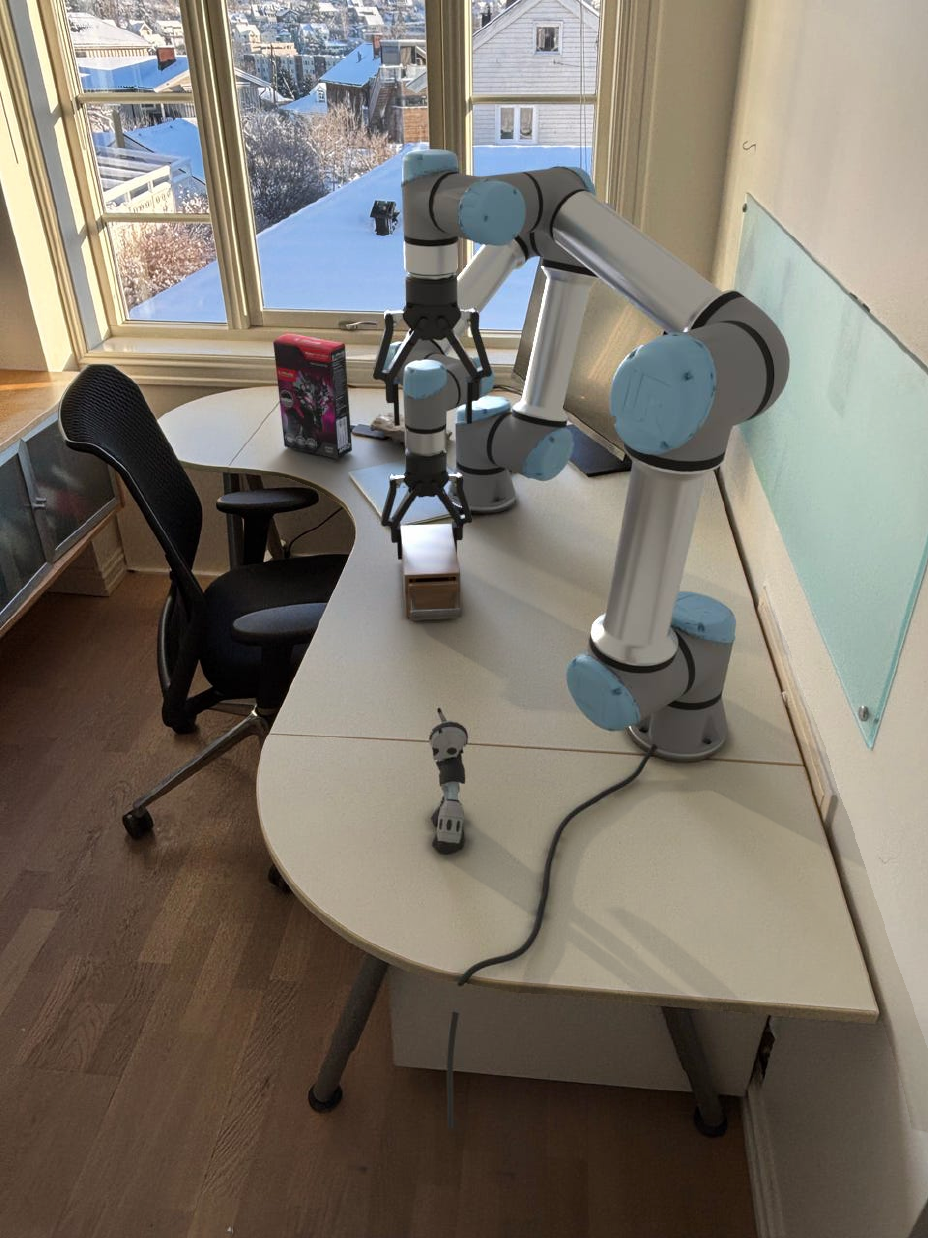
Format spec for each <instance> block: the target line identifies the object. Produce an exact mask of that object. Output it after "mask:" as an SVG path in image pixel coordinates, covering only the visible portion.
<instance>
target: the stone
mask: <svg viewBox="0 0 928 1238" xmlns="http://www.w3.org/2000/svg"><path fill="white" fill-rule="evenodd" d="M399 420H400V426H395V423H394V412H386V413H379V414H377V415H375V417H374V418H373V419H372V422H371V424H370V426H369V429H370V431H371V432H381V433H382V435H384V436H386V437H389V438H391V439H392V441H393V442H395V443H404V444H405V418H404V415H403V414H402V413H401V414H400V413H399ZM452 435H453V432H452V431H451V430H449V429H447V428H446V443H447V442H448V441H449V440H450V438H451V436H452Z"/></svg>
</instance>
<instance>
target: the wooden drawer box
mask: <svg viewBox="0 0 928 1238" xmlns="http://www.w3.org/2000/svg"><path fill="white" fill-rule="evenodd" d="M401 546H402V559H401V560H400V561H401V573H402V574H401V577H402V589H403V600H404V611H405V612H404V613H405V618H409V590H408V583H410V579H417V578H440V577H453V581H458V608H460V609H461V570H460V564H459V559H458V552H457V553H456V547H455V542H454V536H453V531H452V523H441V524H438V523H437V524H414V525H411V524H410V525H401Z"/></svg>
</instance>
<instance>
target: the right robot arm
mask: <svg viewBox="0 0 928 1238" xmlns="http://www.w3.org/2000/svg"><path fill="white" fill-rule="evenodd" d="M401 173H402V175H401V176H402V177H401V183H400V188H401V198H402V201H401V202H402V226H403V228H402V229H403V262H404V263H403V264H404V265H403V267H404V270H405V271H406V272H407V273H406V274H405V276H404V301H405V303H404V307H403V309H402V310H396V311H392V310H391V309H386V310H384V313H383V315H384V316H383V318H384V328H383V330H382V331H383V332H382V335H381V339H380V342H379V346H378V350H377V353H376V357H375V360H374V364H373V368H372V377H373V379H374V380H376V381H378V380H379V381H382V382H383V383H384V384H385V387H384V389H385V401H386V403H387V404H393V413H394V423H395V426H400V420H399V414H400V400H399V399H400V394H399V392H400V391H399V390H400V389H399V384H398V378H395V377H396V376H397V374H398V372H399V371H400V369H401V367H402V365H403V364H404V362H405V360H406V359H407V357H408V355H409V353H410V352H411V350H412V348H413V347H414V346H415V344H416V343H417V341H418V339H422V341H427V340H431V339H434V340H443V339H444V338H447V340H448V341H449V343H450V345H451V346H452V347H453V348H452V350H453V351H454V352H455V354H456V355H457V357H458V359H459V360H461V362H462V363H463V365H464V367H465V368H466V370H467V371H468V373H469V375H470V376H468V377H466V400H465V418H466V422H467V424H472V401H478V399H479V388H480V380H481V379H482V378H484V377H490V376H491V375H492V371H491V368H492V366H491V364H490V361H489V357H488V354H487V351H486V347H485V344H484V341H483V338H482V334H481V331H480V314H479V313H478V311H477V309H476V308H471V309H470V310H460V309H459V307H458V277H459V275H457V274H456V271H457V270H458V268H459V238H461V239H464V240H467V241H472V242H473V243H475V244H479V245H481V246H483V245H493V246H503V245H506V244H508V243H510V242H511V241H512V240H513V239H514V238H515V237H517V236H518V235H519V234H525V233H531V232H538V231H540V232H543V233H545V234H546V235H547V236H548V237H550V238H551V239H552V240H554V241H555V242H556V243H557V244H559V245H560V246H561V247H562V248H564V249H565V250H566V251H567V252H568V253H570V254H571V255H572V256H573V257H575V258H576V259H577V260H578V261H580V262H581V263H582V264H583V265H584V266H586V267H587V268H588V269H589V270H591V271H592V272H593V273H594V274H596V275H597V276H598V277H599V278H600V280H601V281H603V282H604V283H605V284H607V286H609V287H610V288H611V289H613V290H614V291H615V292H616V293H618V294H619V295H620V296H621V297H622V298H624V299H625V300H626V301H627V302H628V303H630V305H632V306H633V307H635V308H636V309H637V310H638V311H639V312H641V313H642V314H643V315H645V316H646V317H647V318H648V319H649V320H651V321H652V322H653V323H654V324H655V325H657V326H658V327H659V328H660V329H662V330H663V331H664V332H665V333H666V334H663V335H661V336H658V337H656V338H654V339H653V340H651V341H648V342H646V343H644V344H641V345H639V346H638V347H636V348H634V349H633V350H632V351H630V352H629V354H627V355H626V356H625V358H623V360H622V361H621V363H620V364H619V366H618V367H617V369H616V371H615V373H614V375H613V378H612V382H611V385H610V389H609V398H608V399H609V404H608V405H609V413H610V417H611V418H614V419H615V421H616V422H615V423H614V425H613V427H614V429H615V431H616V433H617V435H618V436H619V438H620V439H621V440H622V449H623V451H624V452H625V454H626V455H627V456H628V457H629V459H630V460H631V462H632V463H631V470H630V475H629V480H628V487H627V491H626V497H625V502H624V508H623V514H622V519H621V526H620V530H619V536H618V541H617V547H616V551H615V552H616V553H615V558H614V564H613V565H614V566H613V569H612V574H611V575H612V576H611V580H610V586H609V592H608V597H607V603H606V609H605V613H604V614H601V615H600V616H598V617H597V618H596V619H595V620H594V621H593V623H592V625H591V628H590V633H589V638H588V644H587V648H586V650H585V652H583V653H579V654H577V655H575V656H574V658H572V659H571V660H570V661H569V663H568V665H567V668H566V673H565V677H566V685H567V687H568V690H569V693H570V696H571V698H572V699H573V701H574V703H575V705H576V706H577V707H578V709H579V711H580V712H581V713H582V714H583V715H584V716H585V717H586V718H587V719H588V721H590V722H591V723H593V724H594V725H595V726H597V727H598V728H600V729H603V730H605V731H608V732H621V731H623V730H625V729H626V732H627V734H628V736H629V738H630V739H631V741H632V742H634V744H636V745H637V746H638V747H639V748H640V749H641V750H643V751H645V752H646V753H645V755H644V757H643V758H642V759H641V762H640V763H639V765H638V766H637V768H636V770H634V772H632V774H630V776H628V777H626V778H625V779H623V780H622V781H620V782H618V783H617V784H614V785H612V786H609V788H606V789H604V790H603V791H601V792H600V793H598V794H596V795H595V796H593V797H591V798H590V799H588V800H587V801H584V802H583V803H582V804H580V805H578V806H577V807H576V808H574V809H573V810H572V811H571V812H569V813H568V815H566V816H565V817H564V818H563V820H562V821H561V822H560V824H559V825H558V827H557V829H556V830H555V833H554V835H553V838H552V840H551V843H550V847H549V850H548V853H547V857H546V861H545V865H544V871H543V880H542V881H543V882H542V890H541V897H540V900H539V904H538V908H537V912H536V917H535V920H534V925H533V928H532V930H531V933H530V935H529V936H528V938H527V940H526V941H525V942H524V943H523V944H522V945H521V946H520V947H519V948H517V949H516V950H514V951H512V952H510V953H507V954H503V955H500V956H495V957H492V958H491V957H490V958H488V959H484V960H481V961H479V962H477V963H475V964H473V965H472V966H471V967H469V968H468V969H467V970H466V971H465V972H464V973H462V975H461V976H460V978H459V979H458V981H457V983H456V985H457V987H463V986H464V985H465V984H466V982H467V981H468V980H469V979H470V978H471V977H472V976H473V975H474V974H476V973H477V972H479V971H481V970H482V969H485V968H489V967H491V966H496V965H499V964H503V963H507V962H510V961H513V960H515V959H517V958H519V957H521V956H522V955H523V954H525V953H526V952H527V951H528V950H529V949H530V948H531V946H532V945H533V943H534V942H535V941H536V939H537V937H538V935H539V932H540V930H541V926H542V923H543V918H544V913H545V909H546V905H547V900H548V896H549V889H550V880H551V869H552V864H553V860H554V856H555V852H556V849H557V847H558V846H557V845H558V843H559V840H560V837H561V835H562V833H563V832H564V829H565V828H566V826H567V825H568V824H569V823H570V822H571V820H572V819H574V817H576V816H577V815H578V814H580V813H581V812H582V811H584V810H586V809H588V808H589V807H591V806H592V805H594V804H596V803H597V802H599V801H600V800H602V799H603V798H605V797H606V796H607V797H608V795H611V794H612V793H615V792H616V791H619V790H620V789H622V788H624V787H626V786H627V785H629V784H631V783H632V782H633V781H634V780H636V778H638V776H640V774H641V773H642V771H643V770H644V768H645V766H646V764H647V763H648V762H649V760H650V758H651V757H652V756H654V757H656V758H659V759H662V760H666V761H670V762H675V763H694V762H700V761H703V760H706V759H709V758H711V757H714V755H716V754H718V752H720V751H721V750H722V748H723V747H724V744H725V743H726V740H727V739H726V738H727V734H728V721H727V716H726V712H725V708H724V707H725V706H724V701H723V692H724V686H725V682H726V678H727V674H728V669H729V664H730V659H731V654H732V651H733V647H734V642H735V640H736V627H737V620H736V617H735V615H734V613H733V611H732V609H730V608H729V607H728V606H727V605H726V604H725V603H723V602H722V601H720V600H719V599H717V598H714V597H712V596H709V595H707V594H703V593H699V592H693V591H689V590H680V588H681V583H682V579H683V576H684V571H685V566H686V563H687V558H688V553H689V550H690V546H691V541H692V537H693V533H694V528H695V524H696V520H697V517H698V511H699V508H700V503H701V498H702V495H703V492H704V491H703V490H704V487H705V482H706V478H707V474H708V473H710V472H712V471H714V470H717V469H718V468H719V467H720V466H721V465H722V464H723V462H724V460H725V457H726V452H727V448H728V445H729V441H730V436H731V433H732V429H733V427H735V426H737V425H740V424H742V423H745V422H748V421H750V420H753V419H755V418H757V417H758V416H761V415H762V414H764V413H765V412H766V411H768V410H769V409H770V408H771V407H772V406H773V405H774V404H775V403H776V402H777V401H778V400H779V398H780V396H781V395H782V394H783V391H784V389H785V387H786V385H787V381H788V379H789V375H790V374H789V373H790V364H791V359H790V352H789V347H788V345H787V342H786V339H785V336H784V335H783V333H782V331H781V330H780V329H779V327H778V325H777V324H776V323H775V322H774V321H773V319H772V318H771V317H770V316H769V315H768V314H767V313H766V312H765V311H764V310H762V309H761V308H760V307H759V306H758V305H756V304H755V303H754V302H753V301H751V300H750V299H749V298H747V297H746V296H745V295H743V294H742V293H741V292H739V291H738V290H736V289H728V290H724V291H722V290H721V289H720V288H718V287H717V286H716V285H714V284H713V283H712V282H710V281H709V280H708V279H706V278H705V277H703V276H702V275H701V274H700V273H698V272H697V271H695V270H694V269H693V268H692V267H691V266H689V265H688V264H686V263H685V262H684V261H683V260H681V259H679V258H678V257H677V256H675V255H674V254H673V253H672V252H671V251H669V250H668V249H666V248H665V247H663V246H662V245H661V244H659V242H657V241H656V240H654V239H653V238H652V237H650V236H649V235H648V234H646V233H644V232H643V231H642V230H641V229H640V228H639V227H637V226H635V225H634V224H633V223H631V222H630V221H629V220H628V219H626V218H624V217H623V215H621V214H620V213H618V212H617V211H616V210H615V209H614V210H615V211H616V212H615V211H614V210H613V209H611V208H610V207H609V206H607V205H606V204H605V203H606V202H605V203H603V202H604V201H602V200H600V198H598V197H597V193H596V188H595V187H596V186H595V184H594V183H593V182H592V180H591V176H590V174H589V173H588V172H587V171H586V170H585V169H583V168H581V167H578V166H565V165H563V166H559V165H557V166H552V167H549V168H543V169H542V168H541V169H534V170H533V169H532V170H526V171H519V172H508V173H499V174H491V175H482V176H481V175H479V176H478V175H470V174H465V173H461V172H460V165H459V158H458V156H457V154H456V153H455V152H453V151H451V150H448V149H447V150H446V149H432V148H431V149H429V148H428V149H416V150H411V151H408V152H406V153H405V154H404V156H403V158H402V172H401ZM460 318H461V319H463V320H464V322H465V324H466V325H467V326H470V327H469V330H470V334H471V337H472V339H473V343H474V346H475V349H476V353H477V357H479V360H480V363H481V366H482V367H479V368H476V366H475V365H474V363H473V362H472V360H471V358H470V355H469V354H468V352H467V350H466V348H465V347H464V345H463V344H462V341H460V340H461V339H458V337H457V335H456V333H455V332H454V330H453V328H454V327H455V325H456V324H457V323H458V321H459V320H460ZM401 321H403V322H405V324H406V325H407V327H408V328H409V329H408V331H407V333H406V335H405V337H404V339H403V341H402V342H403V343H402V345H401V346H400V348H399V350H398V352H397V353H396V355H395V357H394V358H393V360H392V362H391V364H390V365H389V367H388V369H387V371H386V370H383V368H384V365H385V361H386V358H387V354H388V351H389V347H390V345H391V344H392V339H393V336H394V330H395V328H398V327H399V325H400V322H401ZM490 366H491V367H490ZM451 1013H452V1014H451V1015H452V1016H451V1021H450V1026H449V1027H450V1028H449V1035H448V1045H447V1057H446V1058H447V1059H446V1095H447V1096H446V1097H447V1098H446V1099H447V1119H446V1120H447V1121H446V1122H447V1125H446V1126H447V1127H446V1128H447V1131H452V1130H453V1128H454V1054H455V1045H456V1044H455V1043H456V1034H457V1028H458V1021H459V1015H460V1014H459V1012H457V1011H452V1012H451Z"/></svg>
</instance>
